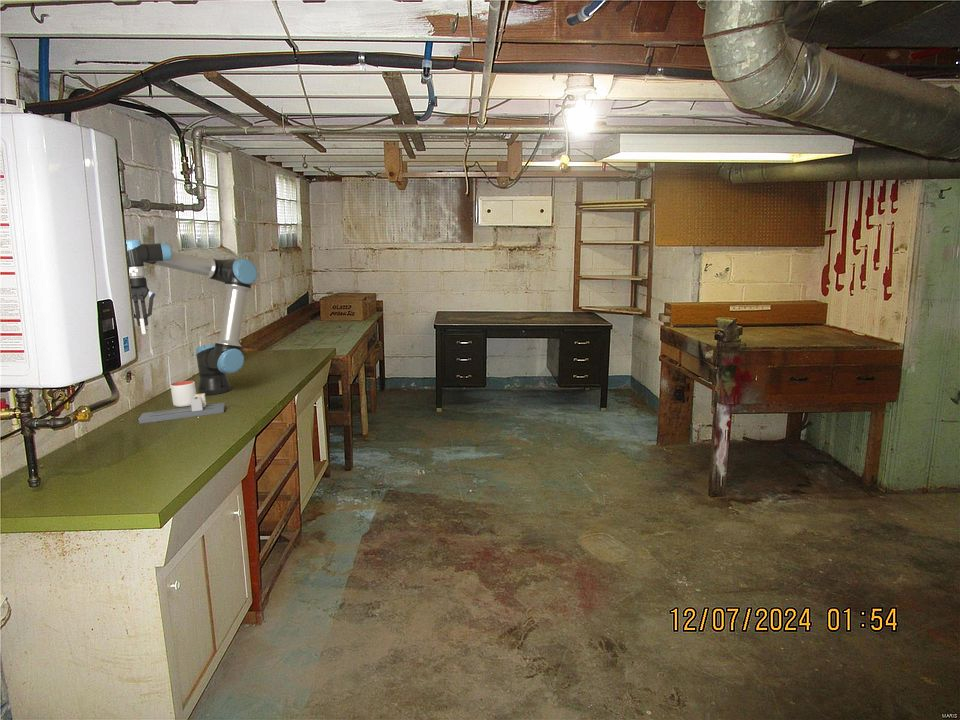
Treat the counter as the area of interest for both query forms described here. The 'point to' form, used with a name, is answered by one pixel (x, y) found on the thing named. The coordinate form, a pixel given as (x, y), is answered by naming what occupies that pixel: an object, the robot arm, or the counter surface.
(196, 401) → the fader
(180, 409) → the console
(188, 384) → the cup
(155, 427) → the counter surface
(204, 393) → the fader
